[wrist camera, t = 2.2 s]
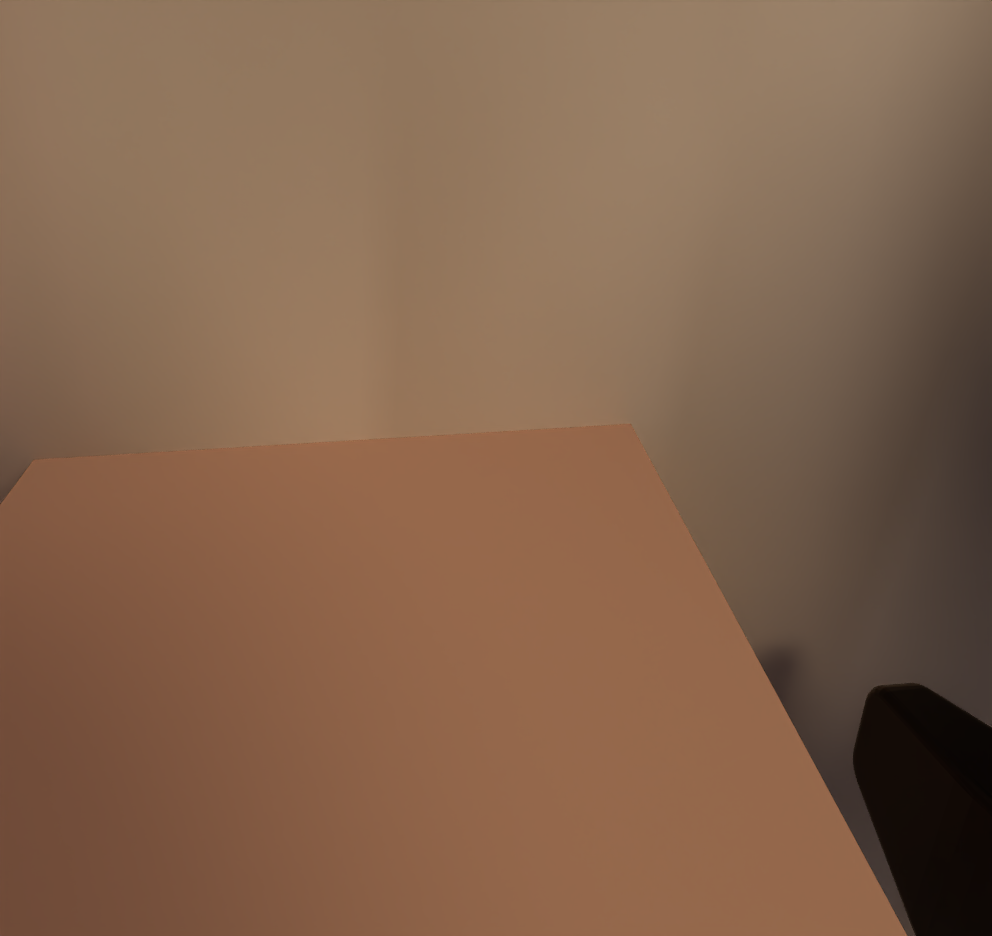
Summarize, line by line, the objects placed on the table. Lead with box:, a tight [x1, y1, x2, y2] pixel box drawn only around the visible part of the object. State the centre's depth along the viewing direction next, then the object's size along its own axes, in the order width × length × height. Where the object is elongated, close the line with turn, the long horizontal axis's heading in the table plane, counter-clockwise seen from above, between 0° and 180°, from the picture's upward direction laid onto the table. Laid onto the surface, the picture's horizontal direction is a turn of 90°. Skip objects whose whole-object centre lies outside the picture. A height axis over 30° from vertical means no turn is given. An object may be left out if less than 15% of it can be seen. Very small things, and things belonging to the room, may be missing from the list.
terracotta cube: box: [0, 424, 907, 936], centre depth 7 cm, size 5×5×5 cm
